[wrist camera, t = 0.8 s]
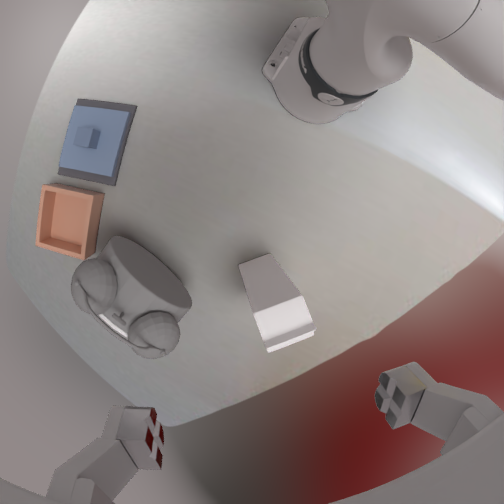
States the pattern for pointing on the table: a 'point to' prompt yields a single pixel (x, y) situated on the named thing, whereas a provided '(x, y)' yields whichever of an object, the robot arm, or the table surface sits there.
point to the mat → (112, 180)
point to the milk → (275, 303)
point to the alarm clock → (132, 297)
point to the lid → (94, 140)
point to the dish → (69, 220)
